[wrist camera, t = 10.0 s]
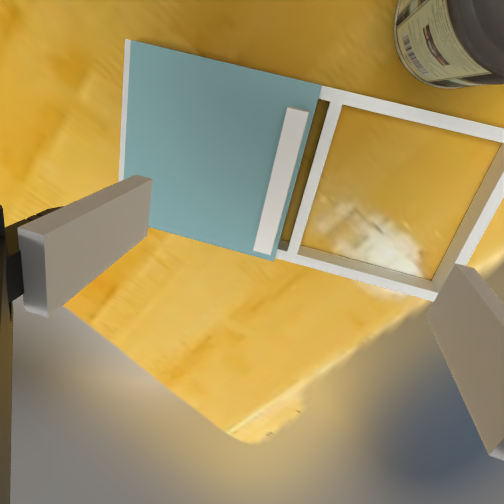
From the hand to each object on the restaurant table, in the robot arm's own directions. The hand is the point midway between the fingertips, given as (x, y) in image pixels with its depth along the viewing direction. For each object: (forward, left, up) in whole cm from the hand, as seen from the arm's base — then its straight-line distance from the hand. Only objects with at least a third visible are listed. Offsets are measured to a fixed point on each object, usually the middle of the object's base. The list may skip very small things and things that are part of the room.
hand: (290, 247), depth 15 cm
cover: (+1, -9, -18) cm, 20 cm away
